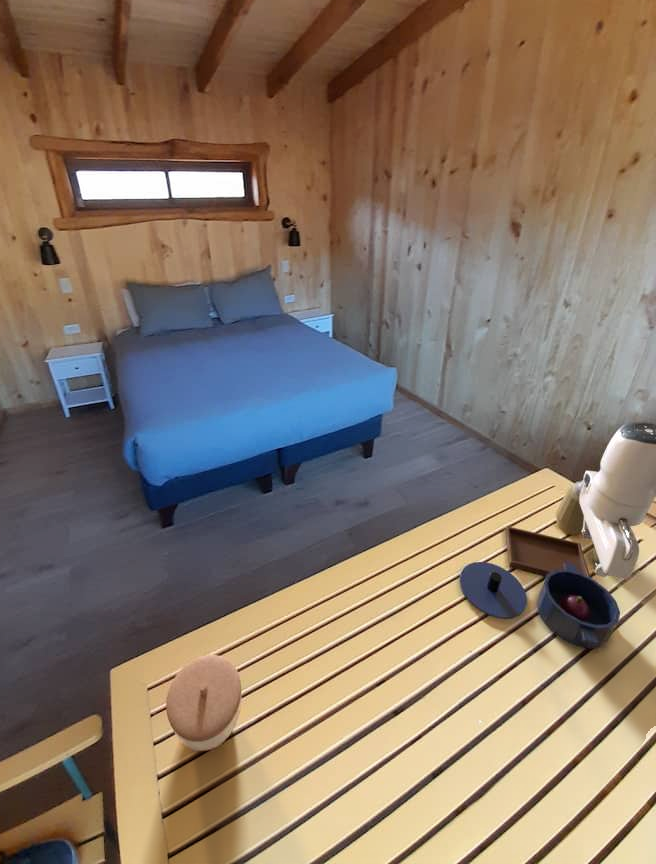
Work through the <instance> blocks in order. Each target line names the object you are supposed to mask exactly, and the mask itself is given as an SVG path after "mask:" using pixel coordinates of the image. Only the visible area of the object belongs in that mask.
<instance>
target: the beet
mask: <svg viewBox="0 0 656 864" xmlns="http://www.w3.org/2000/svg"><path fill="white" fill-rule="evenodd" d="M561 608H562V609H563V610H564V611H565V612H566V613H568V614H569V615H571V616H573V617H575V618H577V619H578V620H580V621H583V622H584V621H586V620H587V619H588V618H589V616H590V609H589V606H588V604H587V603H586V602H585V601H584V600H583V599H582V597H581V596H576V595H568V596H565V597H564V598H563V599H562V601H561Z"/></svg>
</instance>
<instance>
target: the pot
mask: <svg viewBox="0 0 656 864" xmlns="http://www.w3.org/2000/svg"><path fill="white" fill-rule="evenodd" d="M563 567H564V570H554V571H552V572H550V573H549V574H547V576H546V577H544V581H543V583H542V586H541V588H540V591H539V593H538V596H537V598H536V610H537V613H538V615H539V617H540V619H541V621H542V622H543V623H544V625H545V626H546V628H547V629H548V630H550V631H551V632H552V633H553V634H554V635H556V637H558V638H559V639H560V640H562V641H564V642H565V643H567V644H569V645H572V646H575V647H577V648H580V649H585V650H595V649H599V648H601V647H603V646H604V645H606V643H607V642H608V641H609V640H610V638H611V636H612V635H613V633H614V631H615V629H616V627H617V625H618V623H619V622H620V621H619V620H620V615H621V610H620V608H619V605H618V602H617V601H616V599H615V598H614V596H612V594H611V593H610V591H609V590H608V589H607V588H606V587H604V586H602V585H601V584H600V583H599V582H598V581H597V580H596V579H594V578H592V577H591V578H590V577H588V576H586V575H584V574H582V573H579V572H578V570H577V567H576V565H574V564H570V563H566V562H564V564H563ZM568 595H576V596H581V597H582V599H583V600H584V601H585V602H586V603H587V604H588V606H589V609H590V616H589V618H588V619H587V620H586V621H584V622H583V621H580V620H578V619H577V618H575V617H573V616H571V615H569V614H568V613H566V612H565V611H564V610H563V609H562V608H561V601H562V599H563V598H564V597H565V596H568Z"/></svg>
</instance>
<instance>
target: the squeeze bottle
mask: <svg viewBox="0 0 656 864" xmlns="http://www.w3.org/2000/svg"><path fill="white" fill-rule="evenodd" d="M583 483H584V478H583V479H582V480H581V481H576V482H574V484H573V486H571V487H569V488H568V489H567V490H566V492H565V494H564V496H563V497H562V500H561V502H560V503H559V505H558V507H557V509H556V510H555V518H556V524H557V527H558V529H560V530H561V531H563V532H564V533H566V534H568V535H570V536H580V535H582V529H583V527H584V526H583V524H584V515H583V512H582V509H581V506H580V503H579V497H580V492H581V489H582V486H583Z"/></svg>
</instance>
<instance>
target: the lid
mask: <svg viewBox="0 0 656 864" xmlns="http://www.w3.org/2000/svg"><path fill="white" fill-rule="evenodd" d="M459 586H460V590H461V592H462V594H463V595H464V597H465V598H466V599H467V601H468V602H469V603H470V604H471V605H472V606H473V608H475V609H477V610H478V611H480V612H482V613H484V614H485V615H487V616H488V617H489V616H490V617H493V618H495V619H500V620H501V619H502V620H512V619H516V618H519V616H521V615H522V614H523V613H524V612H525V610H526V609H527V605H528V596H527V593H526V591H525V588H524V586H523V585H522V583H521V582H520V581H519V580H518V578H517V577H516V576H515V575H513V573H511V572H510V571H508V570H507V569H505V568H504V567H502V566H501V565H497V564H494V563H491V562H485V561H475V562H471V563H468V564H466V565H465V566H464V567H463V568H462V570H461V572H460V574H459Z"/></svg>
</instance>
